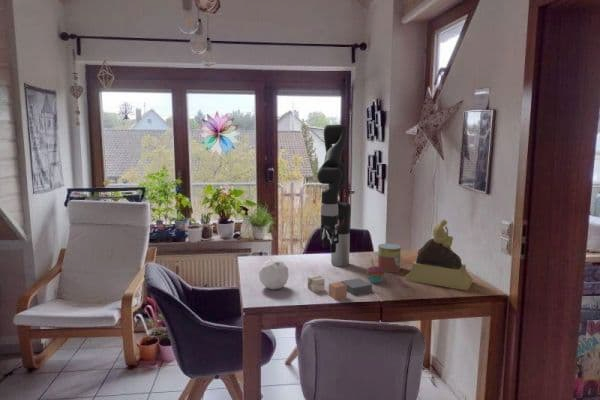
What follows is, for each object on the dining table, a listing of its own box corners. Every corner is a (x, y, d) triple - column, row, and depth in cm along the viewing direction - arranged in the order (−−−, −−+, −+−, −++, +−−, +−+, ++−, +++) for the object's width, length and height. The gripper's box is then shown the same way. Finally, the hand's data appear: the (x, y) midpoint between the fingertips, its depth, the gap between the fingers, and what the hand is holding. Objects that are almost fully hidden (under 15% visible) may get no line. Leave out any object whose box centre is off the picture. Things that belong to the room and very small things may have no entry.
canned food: (394, 273, 218) (394, 250, 216) (373, 269, 224) (374, 246, 223) (403, 268, 226) (404, 245, 225) (383, 264, 233) (384, 242, 231)
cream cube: (307, 288, 197) (307, 276, 196) (318, 286, 199) (318, 275, 198) (313, 292, 192) (313, 280, 191) (324, 290, 194) (324, 278, 193)
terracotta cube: (328, 295, 188) (328, 283, 187) (339, 293, 190) (339, 281, 189) (335, 300, 183) (335, 287, 182) (346, 297, 185) (346, 285, 184)
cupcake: (370, 285, 201) (371, 259, 199) (363, 279, 209) (363, 255, 207) (387, 283, 203) (388, 258, 201) (379, 277, 211) (380, 253, 209)
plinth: (340, 287, 198) (340, 281, 197) (359, 284, 202) (359, 278, 202) (352, 294, 189) (352, 288, 188) (371, 291, 193) (372, 284, 193)
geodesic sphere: (301, 277, 194) (288, 250, 198) (277, 284, 184) (264, 255, 189) (283, 290, 203) (272, 263, 207) (260, 297, 194) (248, 269, 198)
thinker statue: (472, 282, 205) (476, 219, 201) (467, 290, 194) (471, 224, 190) (413, 272, 219) (415, 213, 215) (405, 280, 208) (407, 218, 204)
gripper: (315, 211, 195) (315, 247, 197) (328, 216, 182) (327, 254, 184) (330, 210, 198) (330, 245, 200) (344, 215, 185) (344, 253, 187)
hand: (329, 250), depth 192 cm, fingers open, 8 cm apart
